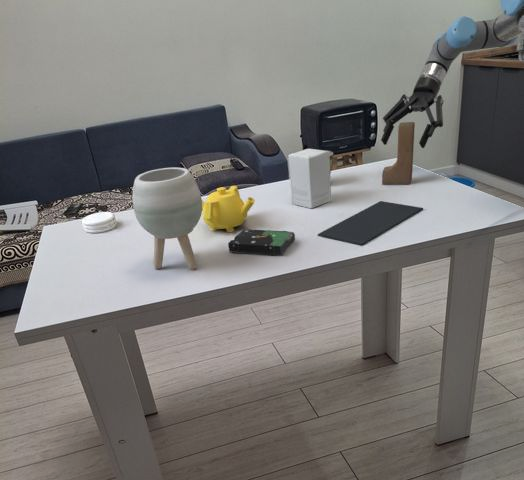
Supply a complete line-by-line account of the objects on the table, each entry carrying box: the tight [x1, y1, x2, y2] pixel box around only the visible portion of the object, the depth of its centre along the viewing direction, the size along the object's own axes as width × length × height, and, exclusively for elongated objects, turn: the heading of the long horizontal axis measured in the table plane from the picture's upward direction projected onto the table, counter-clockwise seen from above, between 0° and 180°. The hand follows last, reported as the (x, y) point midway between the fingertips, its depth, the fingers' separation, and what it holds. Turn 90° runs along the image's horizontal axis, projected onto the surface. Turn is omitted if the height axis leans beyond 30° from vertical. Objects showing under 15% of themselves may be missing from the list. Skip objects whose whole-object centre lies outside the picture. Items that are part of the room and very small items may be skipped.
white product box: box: [288, 148, 332, 209], centre depth 162 cm, size 9×9×15 cm
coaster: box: [81, 211, 118, 234], centre depth 165 cm, size 10×10×4 cm
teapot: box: [202, 185, 255, 233], centre depth 152 cm, size 20×18×11 cm
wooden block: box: [381, 121, 416, 186], centre depth 169 cm, size 9×4×18 cm, turn 72°
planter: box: [132, 167, 203, 271], centre depth 130 cm, size 16×16×22 cm
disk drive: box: [227, 228, 296, 256], centre depth 139 cm, size 10×3×15 cm
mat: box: [317, 200, 424, 247], centre depth 146 cm, size 14×30×1 cm, turn 137°
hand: (401, 144), depth 169 cm, fingers open, 13 cm apart
